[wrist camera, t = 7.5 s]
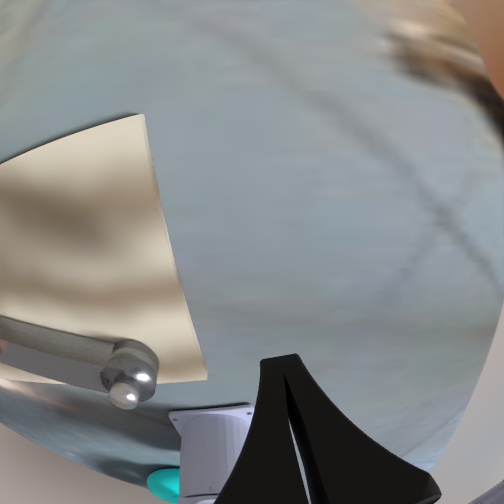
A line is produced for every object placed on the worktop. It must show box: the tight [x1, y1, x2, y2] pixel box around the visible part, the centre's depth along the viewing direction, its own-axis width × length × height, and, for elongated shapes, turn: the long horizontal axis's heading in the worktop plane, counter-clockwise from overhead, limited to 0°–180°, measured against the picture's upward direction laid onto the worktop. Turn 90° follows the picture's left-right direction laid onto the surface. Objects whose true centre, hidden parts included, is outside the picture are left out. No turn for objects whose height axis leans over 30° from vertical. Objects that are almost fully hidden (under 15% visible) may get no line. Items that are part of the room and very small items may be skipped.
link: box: [0, 316, 160, 410], centre depth 18 cm, size 16×4×4 cm, turn 81°
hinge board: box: [0, 114, 207, 384], centre depth 18 cm, size 19×24×1 cm
